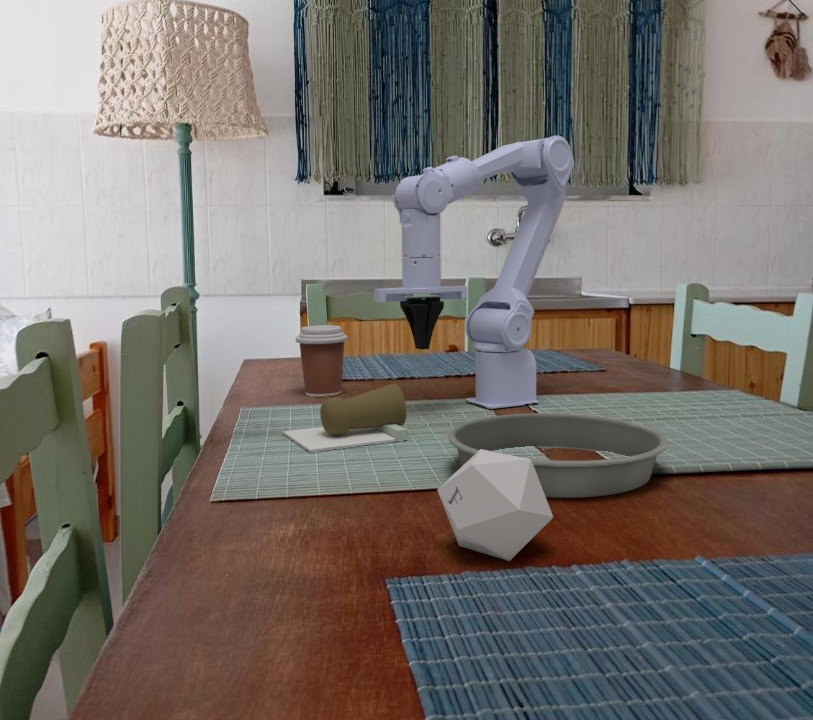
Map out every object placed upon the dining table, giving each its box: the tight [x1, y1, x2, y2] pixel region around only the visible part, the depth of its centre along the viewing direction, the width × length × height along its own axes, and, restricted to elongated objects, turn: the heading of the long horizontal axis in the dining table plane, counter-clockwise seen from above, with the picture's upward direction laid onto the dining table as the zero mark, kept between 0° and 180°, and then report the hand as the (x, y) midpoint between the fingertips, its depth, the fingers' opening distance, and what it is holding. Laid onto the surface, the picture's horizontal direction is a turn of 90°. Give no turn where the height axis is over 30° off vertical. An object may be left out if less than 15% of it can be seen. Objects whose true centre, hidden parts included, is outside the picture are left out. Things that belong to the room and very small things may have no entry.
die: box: [437, 449, 554, 562], centre depth 69 cm, size 8×9×10 cm
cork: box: [319, 383, 408, 436], centre depth 112 cm, size 6×6×11 cm
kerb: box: [375, 424, 409, 442], centre depth 114 cm, size 2×12×2 cm, turn 25°
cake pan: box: [447, 412, 669, 499], centre depth 93 cm, size 25×25×4 cm
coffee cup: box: [295, 324, 348, 396], centre depth 144 cm, size 9×9×12 cm
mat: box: [282, 426, 397, 454], centre depth 111 cm, size 12×12×1 cm
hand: (422, 348), depth 123 cm, fingers closed
